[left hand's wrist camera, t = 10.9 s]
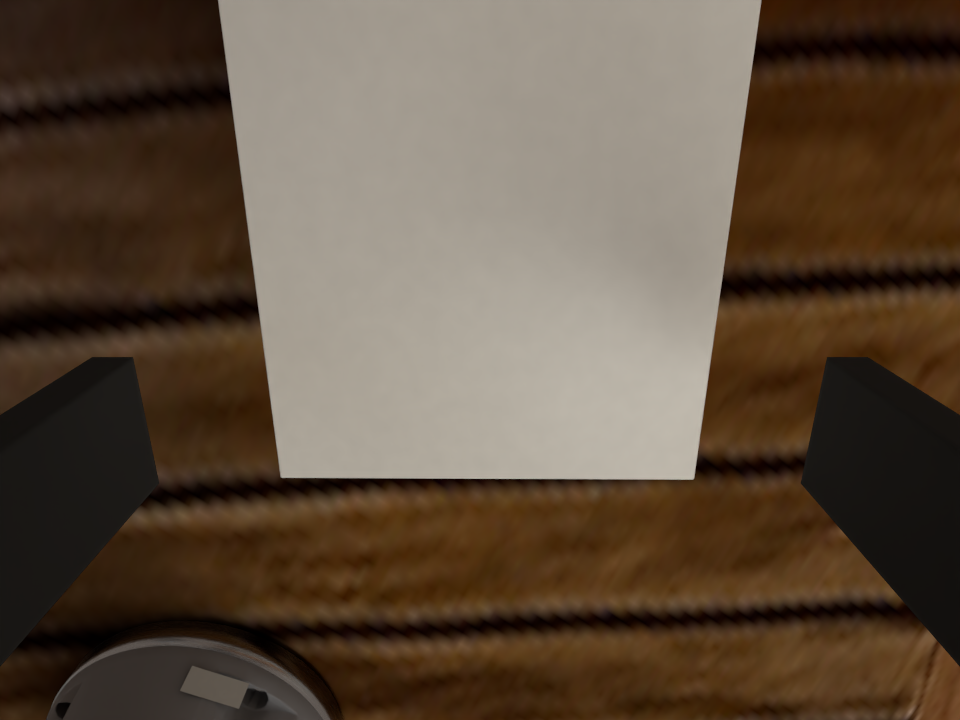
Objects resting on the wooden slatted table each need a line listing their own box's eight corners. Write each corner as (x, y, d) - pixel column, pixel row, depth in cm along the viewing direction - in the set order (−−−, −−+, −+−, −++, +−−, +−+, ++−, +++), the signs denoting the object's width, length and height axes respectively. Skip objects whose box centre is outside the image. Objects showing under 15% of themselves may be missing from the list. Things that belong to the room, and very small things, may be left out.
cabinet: (305, -280, 20) (129, -661, 10) (672, -282, 20) (856, -668, 10) (354, 346, 27) (280, 478, 17) (619, 347, 27) (694, 480, 17)
